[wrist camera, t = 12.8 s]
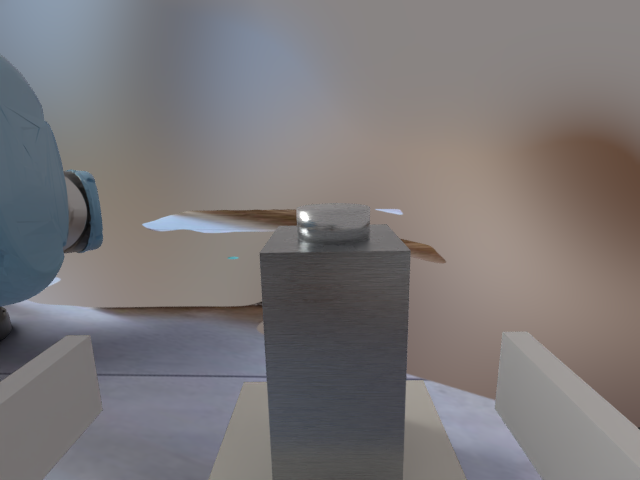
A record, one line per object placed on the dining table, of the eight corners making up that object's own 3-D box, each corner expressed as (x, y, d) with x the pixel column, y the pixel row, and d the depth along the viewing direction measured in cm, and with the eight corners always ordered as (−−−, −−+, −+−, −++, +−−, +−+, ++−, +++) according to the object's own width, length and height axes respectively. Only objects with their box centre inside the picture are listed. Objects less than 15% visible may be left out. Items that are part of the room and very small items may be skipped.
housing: (287, 414, 27) (277, 201, 24) (383, 414, 27) (387, 199, 24) (273, 500, 20) (257, 219, 17) (402, 500, 20) (411, 216, 17)
